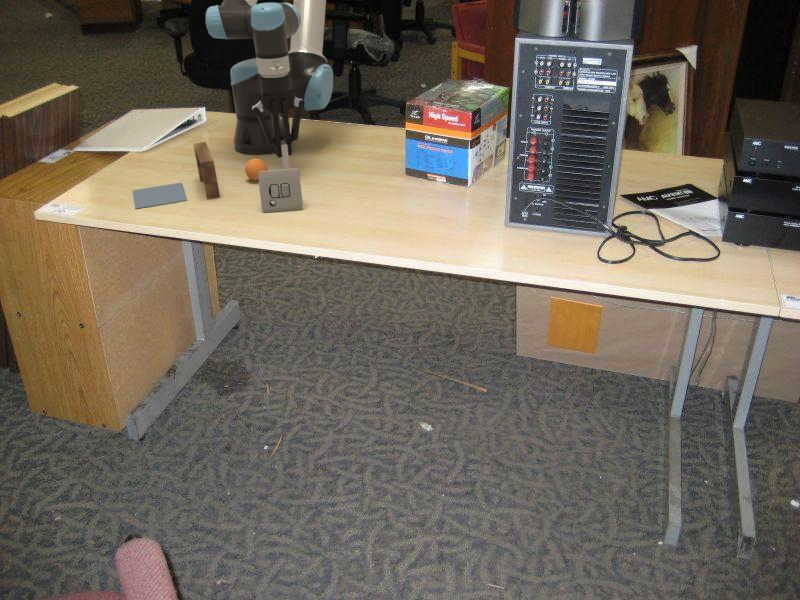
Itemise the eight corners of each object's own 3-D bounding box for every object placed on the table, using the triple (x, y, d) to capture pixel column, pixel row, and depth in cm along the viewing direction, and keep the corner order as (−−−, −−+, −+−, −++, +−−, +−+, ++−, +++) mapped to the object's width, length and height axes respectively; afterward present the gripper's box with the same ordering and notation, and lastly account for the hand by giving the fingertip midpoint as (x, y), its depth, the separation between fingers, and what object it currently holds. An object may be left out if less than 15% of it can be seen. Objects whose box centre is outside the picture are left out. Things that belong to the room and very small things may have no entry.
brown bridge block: (211, 176, 190) (205, 141, 185) (220, 197, 178) (213, 160, 174) (199, 178, 189) (193, 143, 185) (207, 199, 178) (200, 162, 173)
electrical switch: (261, 213, 170) (256, 173, 166) (263, 206, 174) (258, 167, 170) (303, 210, 171) (299, 171, 167) (303, 203, 175) (299, 164, 171)
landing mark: (182, 183, 187) (182, 182, 187) (187, 200, 177) (187, 199, 177) (132, 190, 184) (132, 190, 184) (135, 209, 174) (135, 208, 174)
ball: (266, 174, 190) (263, 153, 187) (270, 181, 186) (268, 160, 183) (244, 177, 189) (241, 157, 186) (248, 185, 184) (245, 164, 181)
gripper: (250, 81, 171) (264, 177, 183) (305, 73, 175) (314, 168, 187) (243, 73, 177) (257, 167, 189) (296, 66, 181) (306, 159, 193)
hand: (285, 168), depth 188 cm, fingers closed
